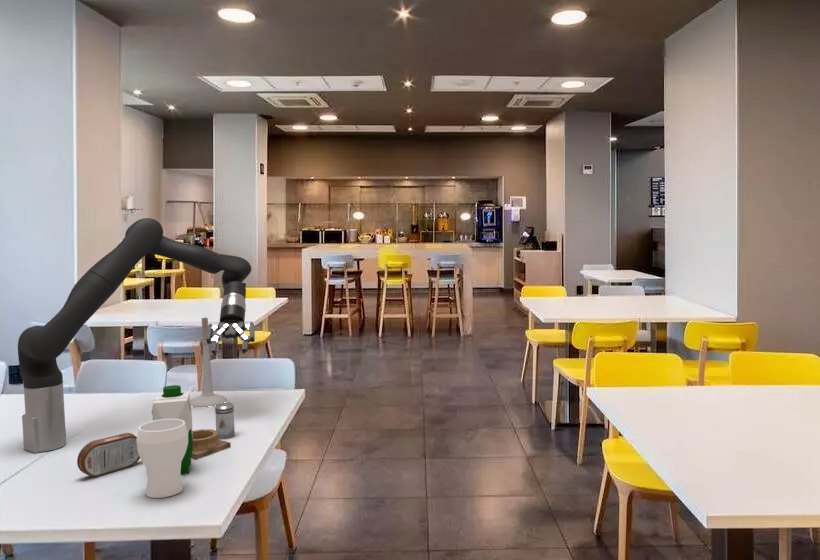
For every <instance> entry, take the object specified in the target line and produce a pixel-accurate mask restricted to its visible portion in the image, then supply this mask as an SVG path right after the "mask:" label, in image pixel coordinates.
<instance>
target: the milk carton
mask: <svg viewBox="0 0 820 560" xmlns="http://www.w3.org/2000/svg"><path fill="white" fill-rule="evenodd" d="M162 390H163V391H162V392H163V394H157V395H156V396H155V398H153V402H152V409H151V415H152V421H155V420H161V419H180V420H183V421H184V422H185V425H186V428H187V432H188V446H187V450H186V453H185V455H184V457H183V459H182V461H181V472H180V473H181V475H187V474H189V473H190V469H191V465H192V451H193V432H192V431H193V416H192V415H193V411H192V407H191V396H190V395H191V394H190V392H182V386H181V385H179V384H178V385H177V384H175V385H174V384H173V385H167V386H164V387H163V389H162Z"/></svg>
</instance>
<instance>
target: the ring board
mask: <svg viewBox="0 0 820 560" xmlns="http://www.w3.org/2000/svg"><path fill="white" fill-rule="evenodd" d="M192 432H193V451H192V459H193V460H199V458H200V459H202V458H205V457H207V456H210V455H213V454H215V453H219V452H220V451H224V450H226V449H229V448H231V446H232V445H231V442H229V441H225V440H223V439H219V433H218V431H216V429H211V428H210V429H206V428H205V429H204V428H203V429H197V430H196V429H195V430H192ZM192 459H191V460H192Z"/></svg>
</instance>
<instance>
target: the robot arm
mask: <svg viewBox="0 0 820 560" xmlns="http://www.w3.org/2000/svg"><path fill="white" fill-rule="evenodd" d="M147 254H152V255H157V256H158V257H159V256H160V257H164V258H167V259H169V260H170V259H171V260H173V261H177V262H179V263H183V264H186V265H188V266H191V267H193V268H196V269H199V270H201V271H203V272H206V273H209V274H211V275H216V274H218V273H220V272H222V271H223V272H222V274H221V275H222V276H221V283H222V288H223V294H222V295H223V296H222V302H221V306H220V314H219V323H218V324H217V325H213V324H212V323H208V329H207V334H206V341H207V344H208V345H211V346H210V352H211V354H213V356H216V355H217V351H218V344H219V343H220V342H222V341H223V340H224V339H237V338H239V339H240V340H241V341H242V345H241V352H242V354H246V352H248V349H249V344H250V343H254V342H255V335H256V334H255V333H256V331H255V323H254V322H253V321H251V322H249V323H248V324H247V323H246V324H245V318H246V310H247V309H246V306H247V305H246V304H247V303H246V297H247V295H246V294H247V290H246V286H245V284H244V283H243V282H244V281H245V280H246V279H247V278H248V277H249V276H250V275H251V272H252V265H251V263H250V262H249V261H248V260H246V259H245V258H243V257H240V256H238V255H237V256H236V255H229V254H223V253H218V252H216V251H213V250H211V249H208V248H205V247H203V246H200V245H196V244H194V243H193V244H191V243H188V242H187V243H186V242H183V241H178V240H175V239H172V238H168V237H167V236H164V228H163V225H162V224H161V222H159V220H157V219H154V218H151V217H145V218H144V217H143V218H139V219H138V220H136V221H134V222H133V223H132V224H131V225H129V226H128V228H127V229H126V231H125V233H124V238H123V239H122V240H121V241H120V243H118V244H117V245H116V246H115V247H114V249H112V250H111V251H110V252H108V253H107V254H106V255H104V256H103V257H102V258H101V259H99V260H98V261H97V262H96V263H94V264H93V265H92V266H91V267H90V268H89V269H88V270H87V271H86V272H85V273H84V274H83V275H82V276H81V277H80V278H79V279H78V281H76V283H75V284H74V286H73V287H72V289H71V291H70V293H69V295H68V296H67V299H66V301H65V303H64V305H63V306H62V307H61V309H60V310H59V311H58V313H56V314H55V315H54V317H52V318H51V319H50V320H49V321H48V322H46V323H45V324H44V325H34V326H33V325H32V326H29V327H27V328H26V329H24V331H22V332H21V334H20V335H19V337H18V341H17V355H18V356H17V357H18V364H19V365H18V366H19V367H18V368H19V373H20V376H21V379H22V384H23V394H24V395H23V396H24V397H23V399H24V400H23V401H24V414H22V416H21V421H22V439H23V450H25V451H27V452H30V453H34V454H36V453H43V452H50V451H53V450H57V449H60V448H63V447H65V446H66V445H67V434H66V431H67V430H66V415H65V397H64V378H63V373H62V371H61V369H60V368H59V365H58V364H57V358H59V356H61V355H62V354H63V352H64V351H65V350H66V349H67V347H68V346H69V345H70V343H71V342H72V341H73V339H74V337H76V335H77V333H78V332H80V330H81V329H82V327H83V326H84V325H85V323H87V322H88V321H89V320H90V319H91V317H93V315H94V314H96V312H97V311H98V310H99V309H100V308H101V307H102V305H104V304H105V303H106V302H107V301H108V299H109V298H111V296H113V294H114V293H115V291H117V289H118V288H119V287H120V286H121V284H123V282H124V281H125V279H127V277H128V276H129V274H130V273H131V272H132V271H133V269H134V268H135V266H136V265H137V264H138V263H139V262H140V261H141V260H142V259H143V258H144V257H145V256H146V255H147ZM245 330H247V331H248V332H249V336H247V335H246V333H245V332H244V331H245ZM216 331H217V332H216ZM215 332H216V333H215ZM213 334H215V335H214V336H213Z"/></svg>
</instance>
